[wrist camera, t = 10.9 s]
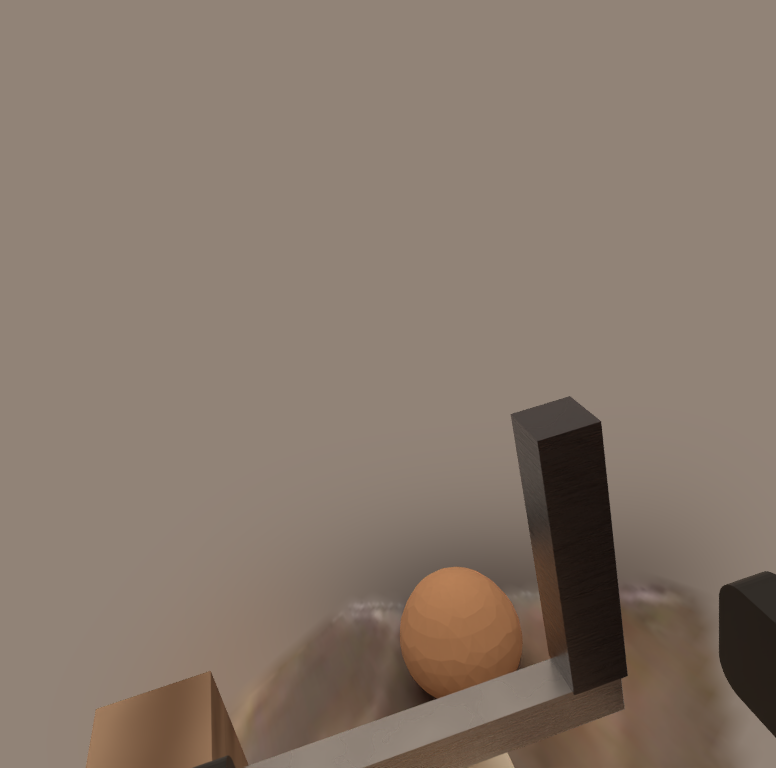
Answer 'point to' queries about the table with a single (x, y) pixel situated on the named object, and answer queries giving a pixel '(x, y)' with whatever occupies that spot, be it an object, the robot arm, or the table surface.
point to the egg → (459, 632)
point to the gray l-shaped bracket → (560, 614)
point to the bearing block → (177, 730)
